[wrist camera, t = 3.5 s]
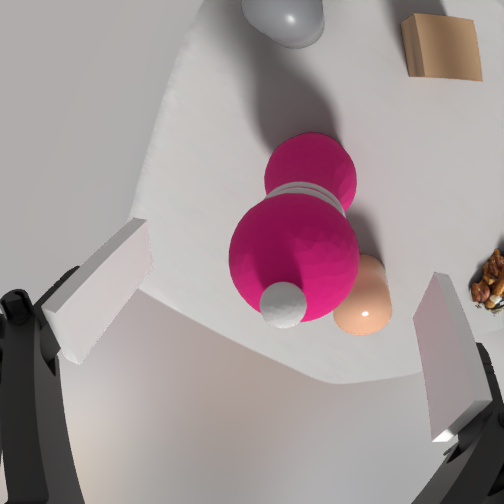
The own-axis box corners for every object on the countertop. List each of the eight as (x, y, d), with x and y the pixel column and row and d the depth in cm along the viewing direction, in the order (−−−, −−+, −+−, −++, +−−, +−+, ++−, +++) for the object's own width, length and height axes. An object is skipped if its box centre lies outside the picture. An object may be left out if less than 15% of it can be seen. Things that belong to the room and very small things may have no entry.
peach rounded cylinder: (392, 259, 30) (400, 295, 25) (376, 300, 33) (380, 338, 29) (341, 249, 31) (341, 285, 26) (330, 291, 34) (327, 329, 29)
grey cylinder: (326, 1, 19) (324, -28, 13) (321, 52, 22) (319, 40, 15) (267, -4, 20) (244, -32, 13) (263, 45, 23) (238, 34, 16)
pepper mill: (315, 110, 25) (283, 180, 8) (369, 170, 26) (417, 334, 10) (258, 161, 29) (151, 300, 12) (310, 215, 30) (275, 396, 14)
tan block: (451, 27, 17) (473, 20, 13) (458, 79, 20) (482, 81, 15) (399, 23, 19) (413, 12, 15) (408, 76, 21) (425, 76, 17)
